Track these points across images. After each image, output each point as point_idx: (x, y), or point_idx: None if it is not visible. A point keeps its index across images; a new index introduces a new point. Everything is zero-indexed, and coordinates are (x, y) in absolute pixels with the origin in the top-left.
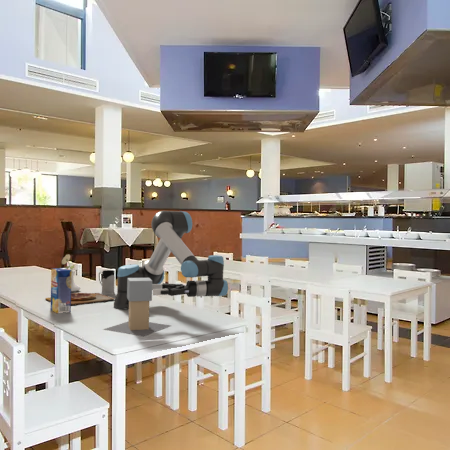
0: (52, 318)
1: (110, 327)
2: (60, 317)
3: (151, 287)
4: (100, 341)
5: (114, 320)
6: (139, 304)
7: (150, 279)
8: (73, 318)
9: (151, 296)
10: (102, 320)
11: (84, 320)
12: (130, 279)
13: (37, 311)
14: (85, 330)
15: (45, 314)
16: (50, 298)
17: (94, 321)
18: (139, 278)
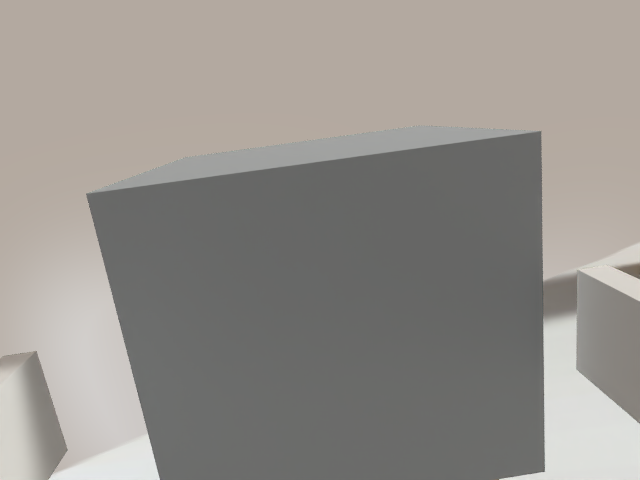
0: (544, 283)
1: None
2: (572, 291)
3: (126, 317)
4: (122, 456)
5: (631, 455)
6: None
7: (270, 167)
8: (576, 317)
9: (157, 463)
10: (593, 402)
11: (553, 347)
12: (300, 142)
13: (634, 245)
14: None
15: (600, 262)
16: None
17: (549, 378)
18: (390, 137)
